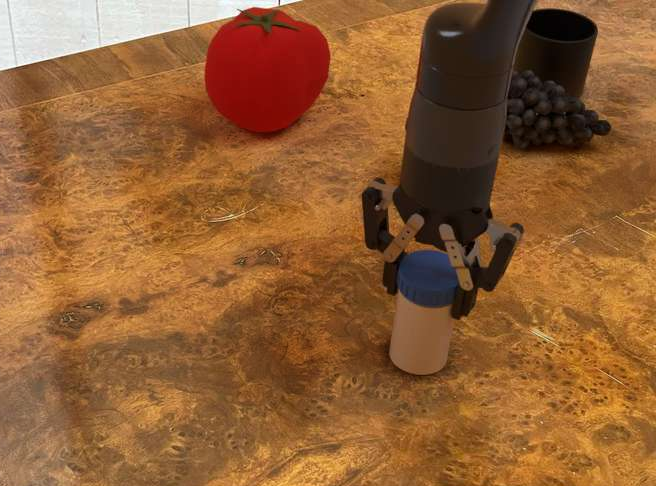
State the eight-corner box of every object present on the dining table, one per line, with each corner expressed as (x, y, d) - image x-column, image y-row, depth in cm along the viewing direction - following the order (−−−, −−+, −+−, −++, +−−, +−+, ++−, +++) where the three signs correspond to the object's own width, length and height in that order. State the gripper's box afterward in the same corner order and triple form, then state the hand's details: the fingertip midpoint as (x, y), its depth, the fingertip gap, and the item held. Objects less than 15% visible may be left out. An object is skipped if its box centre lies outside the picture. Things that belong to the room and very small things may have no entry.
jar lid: (412, 257, 97) (415, 241, 96) (472, 279, 95) (475, 263, 93) (385, 292, 93) (387, 276, 92) (447, 315, 91) (450, 299, 90)
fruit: (625, 71, 123) (494, 52, 125) (622, 126, 119) (486, 105, 121) (605, 120, 130) (482, 102, 132) (602, 173, 126) (474, 154, 128)
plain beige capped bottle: (441, 334, 101) (455, 254, 95) (452, 374, 97) (468, 293, 91) (384, 336, 101) (395, 256, 95) (394, 376, 97) (406, 295, 91)
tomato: (219, 154, 124) (219, 47, 115) (191, 96, 134) (189, -7, 125) (345, 137, 128) (355, 31, 119) (309, 82, 138) (316, -20, 129)
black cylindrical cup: (579, 67, 142) (595, 3, 136) (583, 112, 133) (600, 46, 128) (508, 59, 144) (521, -5, 138) (507, 103, 135) (520, 37, 129)
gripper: (556, 143, 84) (517, 307, 95) (390, 94, 89) (372, 254, 100) (523, 189, 79) (486, 355, 90) (350, 133, 84) (335, 297, 95)
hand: (426, 301), depth 95 cm, fingers closed on jar lid, 5 cm apart
